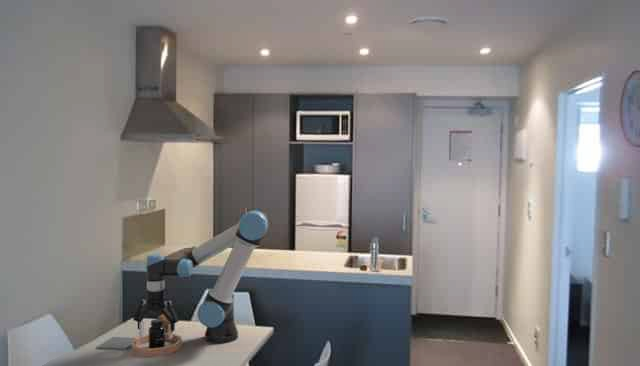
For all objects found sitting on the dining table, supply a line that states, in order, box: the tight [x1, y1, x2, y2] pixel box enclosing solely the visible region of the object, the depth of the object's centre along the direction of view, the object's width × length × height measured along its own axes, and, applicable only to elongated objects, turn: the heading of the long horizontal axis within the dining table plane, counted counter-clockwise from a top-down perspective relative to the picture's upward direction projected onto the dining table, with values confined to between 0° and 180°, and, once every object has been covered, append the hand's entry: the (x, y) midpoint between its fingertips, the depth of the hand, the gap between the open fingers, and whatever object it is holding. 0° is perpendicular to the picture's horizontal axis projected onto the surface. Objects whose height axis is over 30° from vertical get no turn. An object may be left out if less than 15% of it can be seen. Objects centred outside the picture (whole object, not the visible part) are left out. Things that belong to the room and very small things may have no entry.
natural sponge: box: [156, 313, 170, 333], centre depth 255 cm, size 9×9×10 cm
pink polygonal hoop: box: [131, 333, 183, 357], centre depth 237 cm, size 21×21×3 cm
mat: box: [95, 336, 137, 351], centre depth 242 cm, size 14×14×1 cm
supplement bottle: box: [148, 318, 166, 349], centre depth 237 cm, size 7×7×12 cm
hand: (156, 337), depth 237 cm, fingers open, 13 cm apart
